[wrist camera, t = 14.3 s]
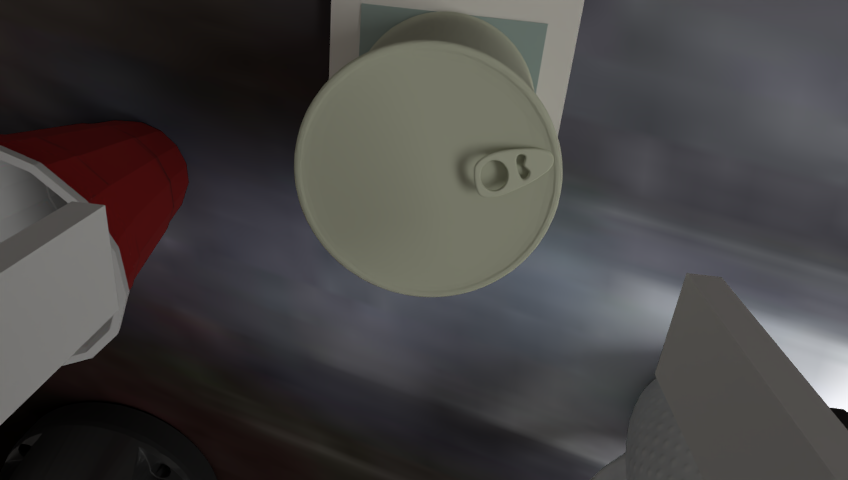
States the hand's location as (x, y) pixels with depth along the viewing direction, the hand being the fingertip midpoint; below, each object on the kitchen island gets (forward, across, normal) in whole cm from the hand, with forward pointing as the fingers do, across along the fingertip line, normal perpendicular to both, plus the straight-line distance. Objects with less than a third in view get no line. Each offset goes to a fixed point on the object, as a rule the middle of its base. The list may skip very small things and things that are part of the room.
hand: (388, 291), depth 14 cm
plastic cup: (+20, -16, -6) cm, 27 cm away
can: (+19, 0, 0) cm, 19 cm away
